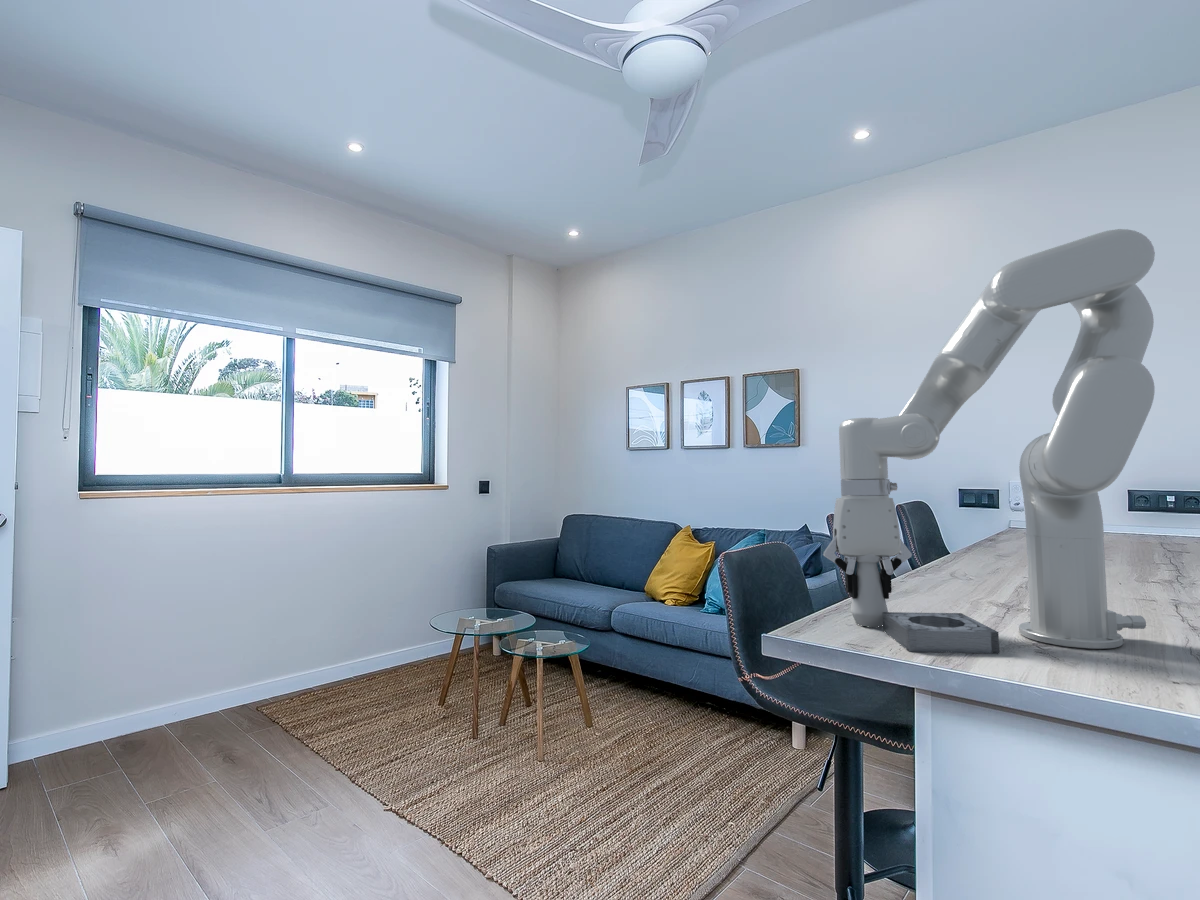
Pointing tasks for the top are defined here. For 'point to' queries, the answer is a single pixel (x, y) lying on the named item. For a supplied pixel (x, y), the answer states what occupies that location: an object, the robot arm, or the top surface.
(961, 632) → the block
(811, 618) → the top surface
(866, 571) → the salt shaker
